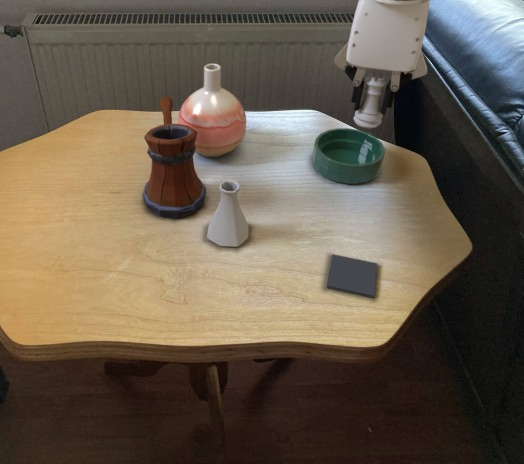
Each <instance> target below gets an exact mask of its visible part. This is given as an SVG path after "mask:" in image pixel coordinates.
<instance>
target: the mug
mask: <svg viewBox="0 0 524 464" xmlns="http://www.w3.org/2000/svg"><path fill="white" fill-rule="evenodd" d="M158 104H159V107H160V109H161V114H162V115H163V116H162V117H163V124H160V125H158V126H155V127H153V128H150V130H148V131H147V132H146V133H145V135H143V136H144V137H143V138H144V141H145V142H146V145H147V146H148V147H147V150H146V153H147V155H148V156H149V158H150V159H151V168H150V169H151V171H150V176H149V179H148V181H146V182H145V184H144V187H143V190H142V193H141V194H142V195H141V196H142V198H143V199H142V200H143V201H144V203H145V206H146V207H147V210H148V211H149V212H151V213H154V214H155V215H158V216H159V217H163V218H170V219H171V218H172V219H179V218H182V217H183V218H184V217H186V216H189V215H192V214H194V213H195V212H197V211H198V210H200V209H201V208H203V207H204V205H205V199H206V195H207V188H206V185H204V183H203V182H202V180H201V178H199V176H198V174H197V172H196V169H195V164H194V162H195V161H194V155H195V153H196V152H195V150H196V147H195V145H194V144H195V141H196V137H197V133H198V132H197V131H196V130H194V129H193V128H191V127H190V126H187V125H182V124H178V123H173V117H172V112H173V105H174V101H173V99H171V97H170V96H169V95H165V96H161V98H160V99H159V101H158Z"/></svg>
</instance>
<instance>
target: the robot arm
mask: <svg viewBox="0 0 524 464" xmlns="http://www.w3.org/2000/svg"><path fill="white" fill-rule="evenodd" d="M429 10H430V0H358V2H357V5H356V9H355V11H354V15H353V21H352V24H351V28H350V32H349V39H348V41H347V42H346V44H344V46H343V47H342V48H341V50H340V51H339V52H338V53H337V54H336V56H334V59H333V65H335V66H336V67H338V68H339V69H340V70H342V71H344V74H346V76H347V77H348V78H349V79H350V81H351V82H352V85H353V90H352V95H351V100H350V103H352V104H354V108H353V111H355V112H356V111H357V110H359V106H360V105H361V101H362V95H363V92H364V86H365V83H366V81H365V77H364V76H365V73H366V71H367V69H370V70H371V69H372V70H379V71H387V72H391V74H390V75H391V76H390V80H389V81H388V82H387V84H386V85H385V90H384V93H383V99H382V102H381V106H380V108H381V114H382V115H384V116H386V113H387V109H388V108H389V109H392V107H393V104H394V100H395V97H396V92H397V91H399V89H400V88H402V87H403V86H405V85H406V84H408V83H409V82H411V81H412V80H416V79H418V78H422V77H424V76H426V75H427V74H428V66H427V63H426V60H425V58H424V54H423V51H422V48H423V44H424V39H425V34H426V30H427V29H426V28H427V24H428V16H429Z"/></svg>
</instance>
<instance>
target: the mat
mask: <svg viewBox="0 0 524 464" xmlns="http://www.w3.org/2000/svg"><path fill="white" fill-rule="evenodd" d="M329 265H330V266H329V271H328V277H327V283H326V288H327V289H329V290H335V291H339V292H343V293H348V294H353V295H357V296H361V297H367V298H371V299H375V294H376V293H375V292H376V285H377V284H376V283H377V282H376V281H377V269H378V263H377V262H373V261H367V260H363V259H357V258H353V257H348V256H343V255H338V254H332V255H331V260H330V264H329Z"/></svg>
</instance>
